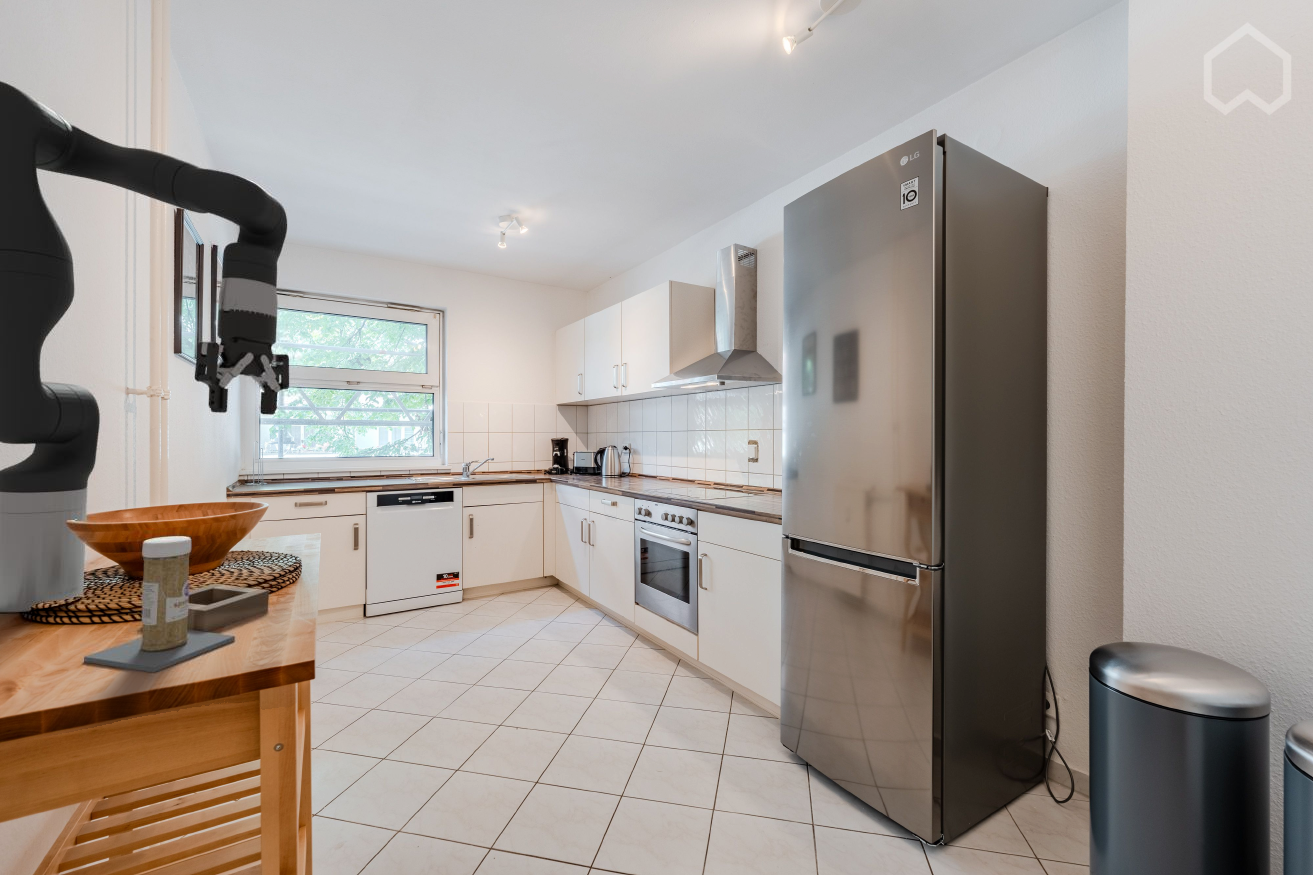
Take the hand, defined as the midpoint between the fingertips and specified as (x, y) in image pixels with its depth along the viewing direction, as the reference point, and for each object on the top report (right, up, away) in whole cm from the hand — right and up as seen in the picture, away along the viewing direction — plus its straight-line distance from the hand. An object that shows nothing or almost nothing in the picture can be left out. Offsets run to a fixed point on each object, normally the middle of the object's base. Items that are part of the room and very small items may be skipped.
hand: (244, 413), depth 88 cm
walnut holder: (0, -30, -7) cm, 31 cm away
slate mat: (+4, -31, -19) cm, 36 cm away
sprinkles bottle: (+4, -30, -19) cm, 36 cm away
